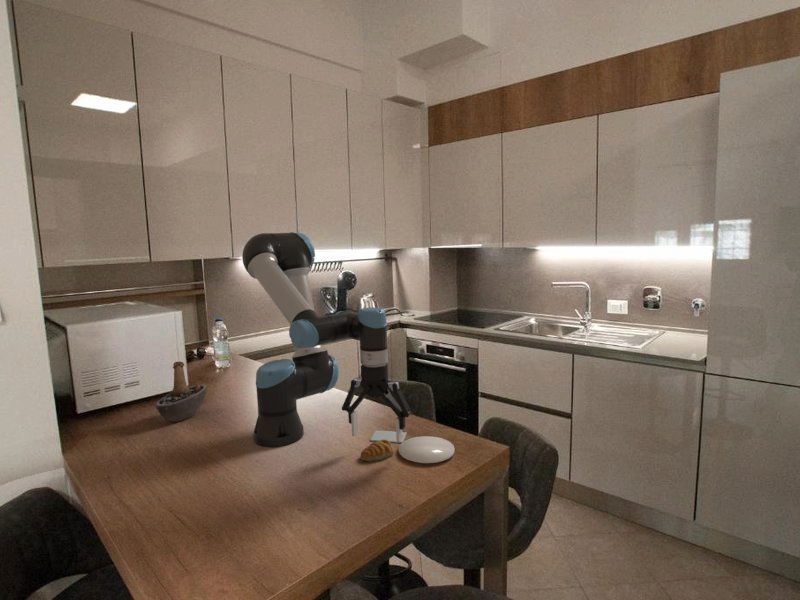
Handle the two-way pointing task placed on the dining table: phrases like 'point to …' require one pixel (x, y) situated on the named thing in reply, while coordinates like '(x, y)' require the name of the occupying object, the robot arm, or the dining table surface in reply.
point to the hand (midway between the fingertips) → (377, 437)
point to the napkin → (387, 436)
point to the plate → (426, 449)
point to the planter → (181, 398)
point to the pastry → (377, 451)
